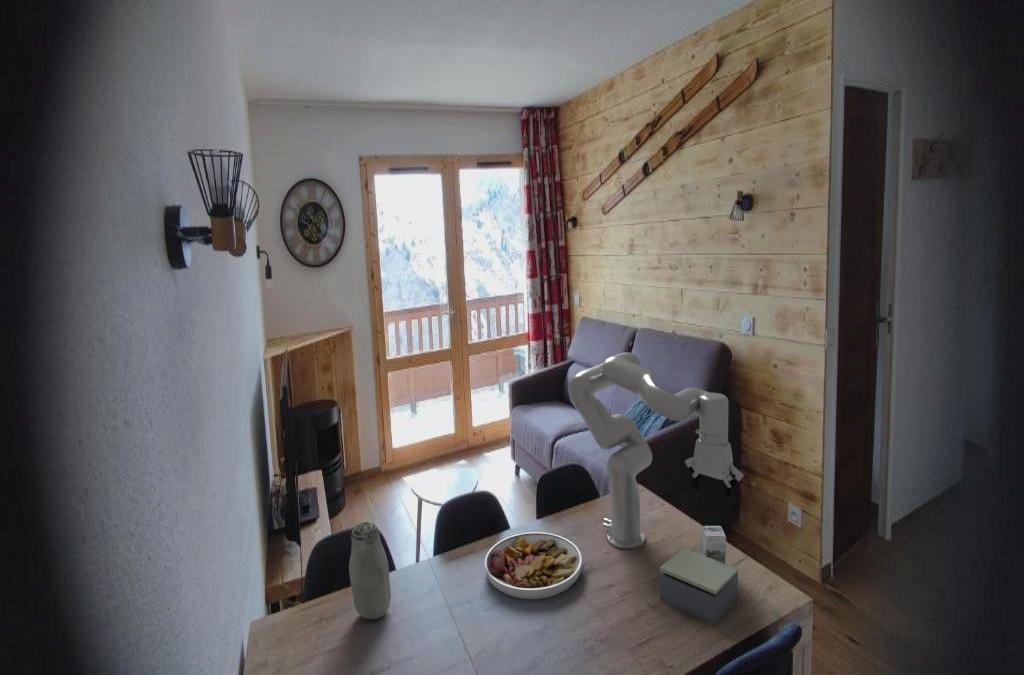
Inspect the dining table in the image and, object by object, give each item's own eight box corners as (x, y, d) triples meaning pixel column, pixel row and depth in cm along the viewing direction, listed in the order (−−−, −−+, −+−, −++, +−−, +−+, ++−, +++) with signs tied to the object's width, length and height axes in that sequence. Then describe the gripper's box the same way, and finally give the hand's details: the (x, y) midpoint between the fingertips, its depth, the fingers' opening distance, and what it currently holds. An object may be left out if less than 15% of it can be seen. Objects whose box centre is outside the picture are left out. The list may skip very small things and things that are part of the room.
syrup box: (720, 568, 167) (720, 524, 164) (725, 580, 161) (726, 535, 158) (700, 568, 167) (700, 524, 165) (705, 580, 162) (705, 535, 159)
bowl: (559, 537, 189) (558, 516, 188) (599, 589, 161) (599, 565, 160) (474, 558, 180) (472, 536, 179) (502, 617, 152) (500, 591, 151)
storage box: (659, 599, 155) (659, 574, 153) (683, 575, 164) (683, 551, 163) (715, 625, 144) (715, 598, 142) (737, 598, 153) (737, 572, 152)
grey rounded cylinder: (349, 623, 153) (336, 531, 148) (371, 599, 162) (360, 512, 157) (378, 630, 149) (367, 537, 144) (399, 606, 159) (389, 517, 153)
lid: (659, 570, 153) (659, 567, 153) (683, 551, 163) (683, 547, 163) (715, 594, 142) (715, 591, 142) (737, 572, 152) (737, 568, 152)
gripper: (678, 434, 159) (678, 489, 163) (738, 448, 147) (737, 508, 151) (690, 426, 165) (690, 480, 168) (750, 439, 153) (748, 497, 156)
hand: (712, 493), depth 159 cm, fingers open, 8 cm apart
